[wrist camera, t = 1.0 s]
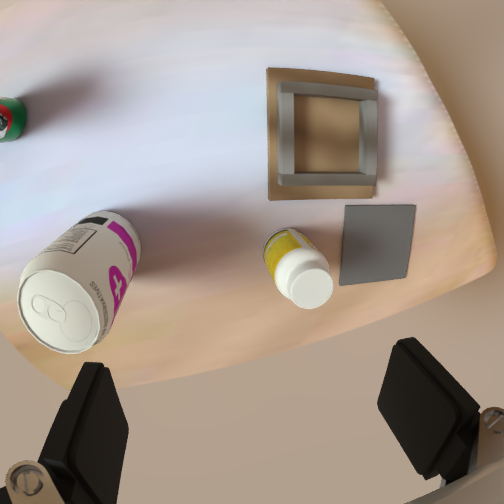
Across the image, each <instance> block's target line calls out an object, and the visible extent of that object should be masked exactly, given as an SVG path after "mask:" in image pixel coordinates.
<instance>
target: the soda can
mask: <svg viewBox="0 0 504 504" xmlns="http://www.w3.org/2000/svg"><path fill="white" fill-rule="evenodd" d="M25 123H26V109H25V106H24V104H23V103H22V102H21V101H20V100H18V99H14V98H6V97H0V143H3V142H11V141H13V140H15V139H16V138H17V137H18V136H19V135H20V134H21V133H22V131H23V129H24V126H25Z"/></svg>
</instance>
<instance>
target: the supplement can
mask: <svg viewBox="0 0 504 504" xmlns="http://www.w3.org/2000/svg"><path fill="white" fill-rule="evenodd" d="M140 257H141V243H140V240H139V237H138V234H137V231H136V230H135V229H134V227H133V226H132V225H131V224H130V222H129V221H128V220H126V219H125V218H123V217H122V216H120V215H119V214H116V213H112V212H108V211H101V212H94V213H92V214H90V215H88V216H86V217H85V218H83V219H82V220H80V221H79V222H78V223H77V224H75V225H74V226H73V227H71V228H70V229H69V230H68V231H66V232H65V233H64V234H63V235H61V236H60V237H59V238H58V239H56V240H55V241H54V242H53V243H51V244H50V245H49V246H48V247H47V248H45V249H44V250H43V251H42V252H41V253H39V254H38V255H37V256H36V257H35V258H34V259H32V260H31V261H30V262H29V263H28V265H27V266H26V268H25V270H24V271H23V273H22V275H21V280H20V287H19V289H18V296H17V305H18V310H19V314H20V317H21V319H22V321H23V323H24V325H25V326H26V328H27V330H28V331H29V332H30V333H31V334H32V335H33V336H34V338H35V339H36V340H37V341H38V342H40V343H41V344H43V345H45V346H46V347H48V348H49V349H51V350H54V351H57V352H60V353H64V354H78V353H80V352H83V351H85V350H88V349H89V348H90V347H91V346H93V345H96V344H98V343H100V342H101V341H102V339H103V338H104V337H105V336H106V335H107V334H108V333H109V331H110V328H111V326H112V323H113V321H114V318H115V316H116V314H117V311H118V309H119V306H120V304H121V302H122V299H123V297H124V295H125V292H126V290H127V288H128V286H129V283H130V281H131V279H132V277H133V275H134V272H135V270H136V268H137V265H138V263H139V260H140Z"/></svg>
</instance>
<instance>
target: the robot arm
mask: <svg viewBox="0 0 504 504" xmlns="http://www.w3.org/2000/svg"><path fill="white" fill-rule="evenodd" d="M377 405H378V409H379V411H380V412H381V414H382V416H383V417H384V419H385V420H386V422H387V424H388V425H389V427H390V429H391V430H392V432H393V434H394V435H395V437H396V438H397V440H398V442H399V443H400V445H401V447H402V448H403V450H404V452H405V453H406V455H407V456H408V458H409V460H410V462H411V463H412V465H413V467H414V468H415V470H416V471H417V473H418V474H420V475H423V477H424V479H425V480H428V479H430V478H433V477H435V476H437V475H438V474H440V475H441V477H442V480H441V485H440V488H439V489H437V490H435V491H433V492H431V493H429V494H426V495H424V496H422V497H419V498H417V499H415V500H412V501H410V502H407V503H405V504H504V409H502V408H499V407H490V408H487V409H485V410H484V411H483V412H482V413H481V414H480V413H479V412H478V410H479V408H480V405H479V404H478V403H477V402H476V401H475V400H474V399H473V398H472V397H471V396H470V395H469V393H468V392H467V391H466V390H465V389H464V388H463V387H462V386H461V385H460V384H459V383H458V382H457V381H456V380H455V379H454V377H453V376H452V375H451V374H450V373H449V372H448V371H447V370H446V369H445V368H444V367H443V366H442V365H441V364H440V363H439V362H438V361H437V360H436V359H435V358H434V357H433V356H432V355H431V354H430V352H429V351H428V350H427V349H426V348H425V347H424V346H423V345H422V344H421V343H420V342H419V341H418V340H417V339H416V338H414V337H411V338H405V339H400V340H398V341H397V343H396V345H394V346H393V348H392V352H391V356H390V359H389V363H388V367H387V371H386V374H385V377H384V381H383V384H382V388H381V391H380V394H379V397H378V401H377ZM128 430H129V428H128V423H127V420H126V418H125V415H124V412H123V409H122V407H121V404H120V401H119V398H118V395H117V392H116V389H115V386H114V382H113V379H112V376H111V373H110V370H109V368H108V367H104V365H103V363H98V362H85V363H84V364H83V366H82V368H81V370H80V372H79V374H78V377H77V379H76V381H75V383H74V385H73V387H72V390H71V392H70V394H69V396H68V398H67V400H64V401H63V402H62V404H61V406H60V408H59V411H58V413H57V415H56V417H55V420H54V422H53V424H52V427H51V429H50V432H49V434H48V436H47V439H46V441H45V444H44V446H43V449H42V452H41V454H40V457H39V459H38V462H35V461H29V460H25V461H21V462H18V463H16V464H14V465H13V466H12V467H11V468H10V469H9V470H8V472H7V474H6V479H5V482H6V486H5V487H3V488H0V504H116V503H117V495H118V490H119V483H120V477H121V471H122V466H123V460H124V454H125V449H126V443H127V438H128V433H129V432H128Z"/></svg>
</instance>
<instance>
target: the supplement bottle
mask: <svg viewBox="0 0 504 504" xmlns="http://www.w3.org/2000/svg"><path fill="white" fill-rule="evenodd" d="M263 257H264V261H265V264H266V266H267V268H268V270H269V272H270V274H271V276H272V278H273V280H274V282H275V284H276V286H277V288H278V289H279V291H280V292H281V293H282V294H283V295H284V296H285V297H287V298H289V299H291V300H293V302H294V303H295V304H296V305H297V306H299V307H301V308H304V309H313V308H317V307H319V306H321V305H323V304H324V303H325V302H326V301H327V300H328V299H329V298H330V296H331V294H332V292H333V287H334V284H333V279H332V277H331V275H330V268H329V264H328V262H327V260H326V258H325V257H324V256H323V254H322V253H321V252H320V251H319V250H318V249H317V248H316V247H315V246H314V245H313V244H312V243H311V242H310V241H309V240H308V239H307V238H306V237H305V236H304V235H303V234H302V233H301V232H299V231H298V230H295V229H290V228H286V229H281V230H278V231H276V232H274V233H273V234H272V235H271V236H270V237H269V238H268V239H267V241H266V242H265V245H264V248H263Z"/></svg>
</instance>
